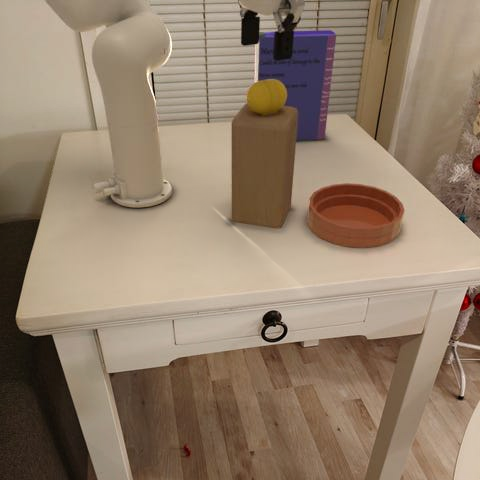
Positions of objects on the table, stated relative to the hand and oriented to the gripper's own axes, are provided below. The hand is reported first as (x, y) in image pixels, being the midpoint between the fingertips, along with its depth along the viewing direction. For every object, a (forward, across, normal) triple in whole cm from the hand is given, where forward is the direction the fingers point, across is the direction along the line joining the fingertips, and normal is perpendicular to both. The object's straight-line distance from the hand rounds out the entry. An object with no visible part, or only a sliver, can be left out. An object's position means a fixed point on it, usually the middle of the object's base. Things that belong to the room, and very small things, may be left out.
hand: (265, 51), depth 86 cm
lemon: (+10, +1, 0) cm, 10 cm away
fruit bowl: (+29, +13, +14) cm, 35 cm away
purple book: (+30, -29, +27) cm, 50 cm away
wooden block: (+30, +1, 0) cm, 30 cm away
